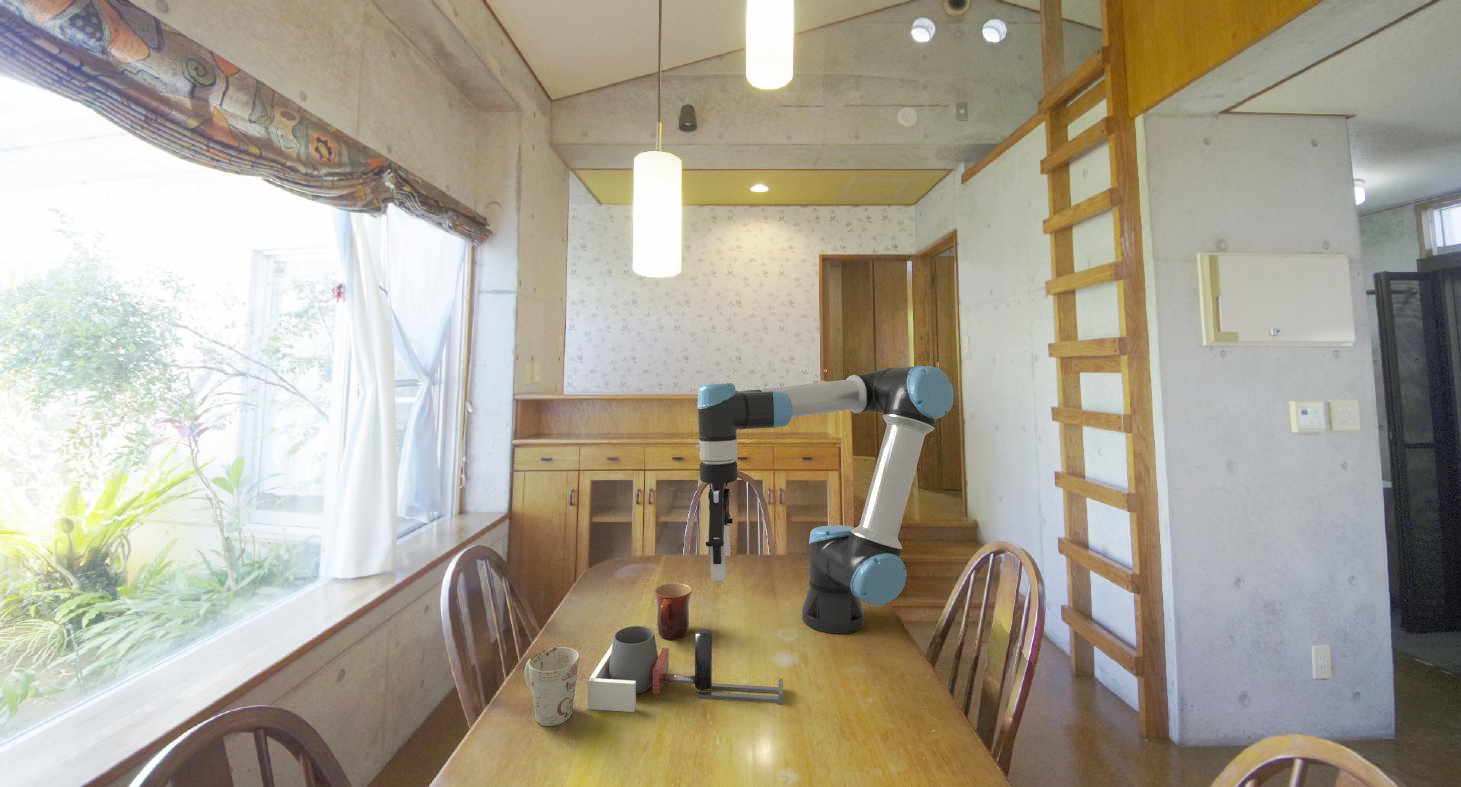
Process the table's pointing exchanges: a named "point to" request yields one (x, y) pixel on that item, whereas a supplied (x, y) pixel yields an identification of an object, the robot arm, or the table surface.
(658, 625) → the mug
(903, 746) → the table surface
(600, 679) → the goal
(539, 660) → the mug
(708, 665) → the rail slider
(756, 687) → the rails
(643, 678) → the cup
